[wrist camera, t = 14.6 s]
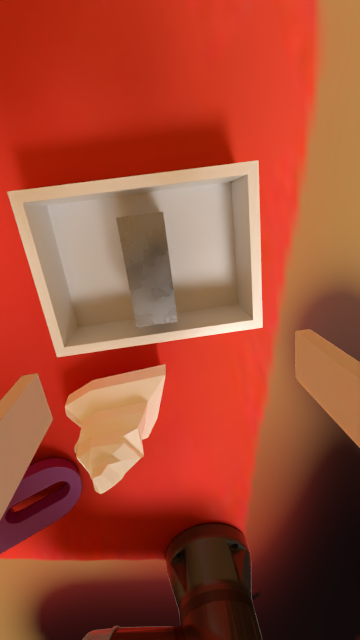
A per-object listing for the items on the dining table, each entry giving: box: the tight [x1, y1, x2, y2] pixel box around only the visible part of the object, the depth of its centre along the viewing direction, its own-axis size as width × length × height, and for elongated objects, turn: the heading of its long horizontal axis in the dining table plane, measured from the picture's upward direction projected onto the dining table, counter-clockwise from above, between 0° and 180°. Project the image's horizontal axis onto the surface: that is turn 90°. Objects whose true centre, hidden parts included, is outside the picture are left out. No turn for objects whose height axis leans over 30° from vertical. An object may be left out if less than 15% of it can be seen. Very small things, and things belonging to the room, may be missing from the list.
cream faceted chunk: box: [65, 364, 166, 494], centre depth 35 cm, size 12×15×14 cm
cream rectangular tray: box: [7, 160, 263, 357], centre depth 31 cm, size 16×22×7 cm
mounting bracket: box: [0, 458, 82, 554], centre depth 42 cm, size 9×8×18 cm
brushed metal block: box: [116, 212, 178, 327], centre depth 30 cm, size 10×4×8 cm, turn 7°
